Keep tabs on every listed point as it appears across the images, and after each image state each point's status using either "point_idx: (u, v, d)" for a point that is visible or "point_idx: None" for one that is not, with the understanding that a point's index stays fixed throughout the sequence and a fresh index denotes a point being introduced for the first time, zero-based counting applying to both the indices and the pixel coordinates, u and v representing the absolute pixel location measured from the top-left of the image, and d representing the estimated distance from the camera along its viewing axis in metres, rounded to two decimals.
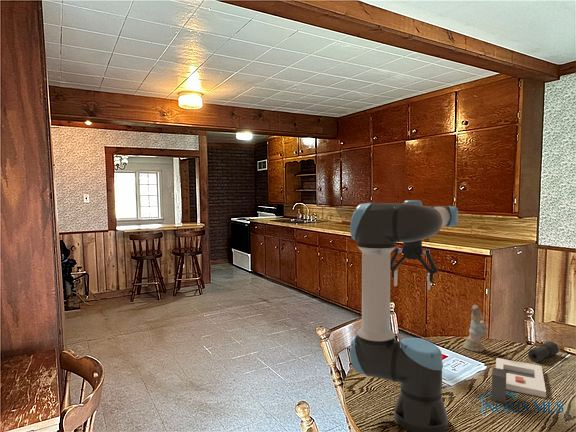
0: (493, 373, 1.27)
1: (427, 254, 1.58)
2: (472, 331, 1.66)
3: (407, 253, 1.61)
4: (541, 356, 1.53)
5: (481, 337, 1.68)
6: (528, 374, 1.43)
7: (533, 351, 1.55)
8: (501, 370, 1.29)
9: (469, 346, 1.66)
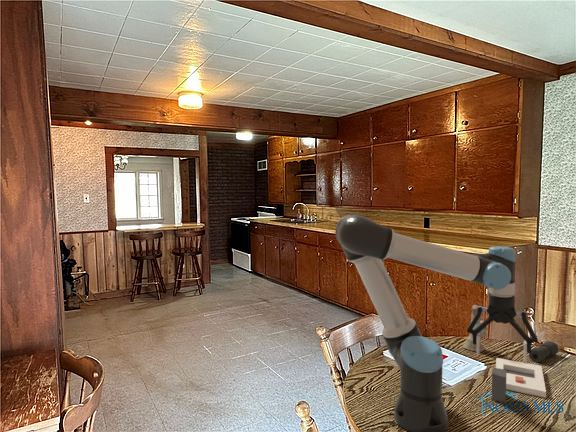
0: (493, 373, 1.27)
1: (523, 318, 1.22)
2: None
3: (495, 315, 1.26)
4: (542, 356, 1.53)
5: (481, 337, 1.68)
6: (528, 374, 1.43)
7: (534, 351, 1.55)
8: (501, 370, 1.29)
9: (469, 346, 1.66)
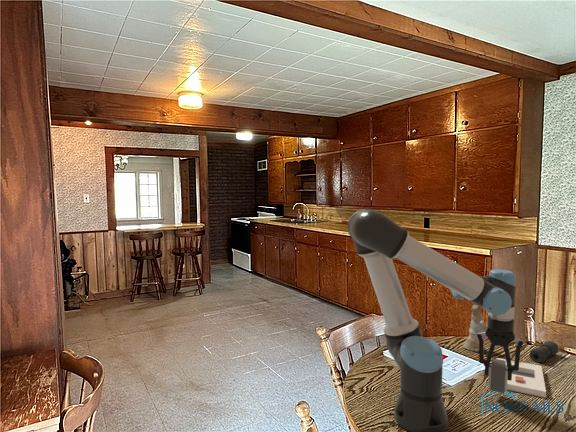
0: (492, 363, 1.27)
1: (519, 346, 1.23)
2: (472, 331, 1.66)
3: (494, 338, 1.26)
4: (543, 356, 1.53)
5: None
6: (528, 374, 1.43)
7: (535, 351, 1.54)
8: (500, 361, 1.29)
9: (469, 346, 1.66)
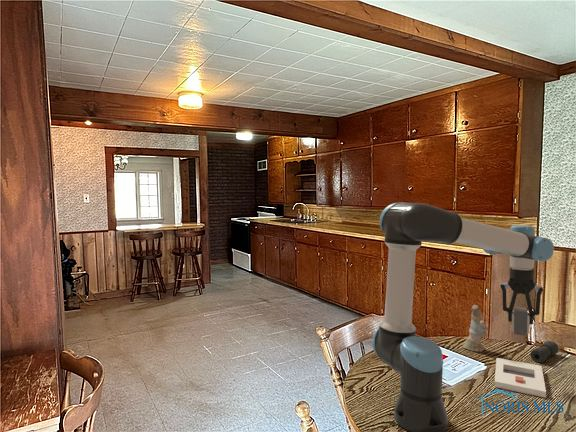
0: (515, 310, 1.40)
1: (539, 292, 1.37)
2: (472, 331, 1.66)
3: (516, 287, 1.39)
4: (544, 356, 1.53)
5: (481, 337, 1.68)
6: (528, 374, 1.43)
7: (535, 351, 1.54)
8: (522, 308, 1.42)
9: (469, 346, 1.66)
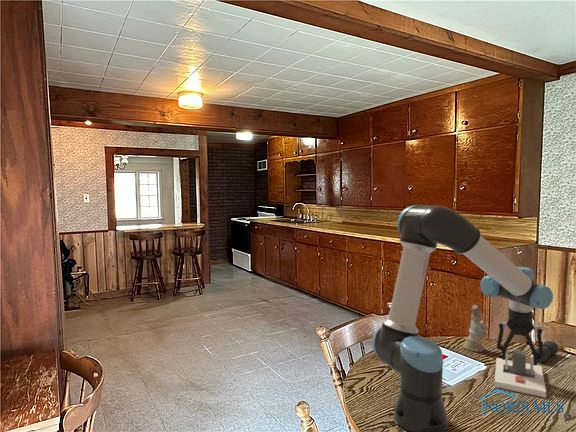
0: (514, 354, 1.41)
1: (539, 333, 1.38)
2: (472, 331, 1.66)
3: (515, 328, 1.41)
4: (545, 356, 1.52)
5: (481, 337, 1.68)
6: (528, 374, 1.43)
7: None
8: (521, 351, 1.43)
9: (469, 346, 1.66)
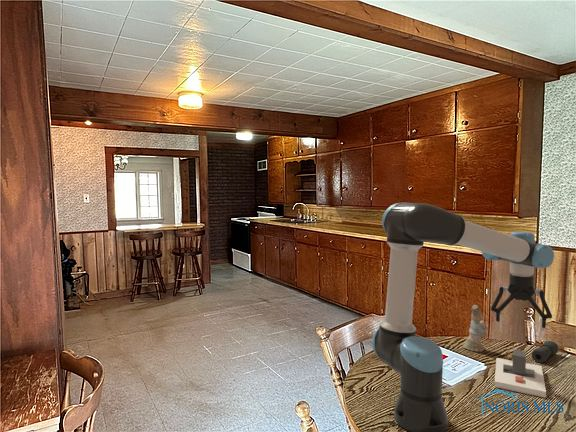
0: (514, 354, 1.41)
1: (541, 296, 1.37)
2: (472, 331, 1.66)
3: (516, 293, 1.40)
4: (545, 357, 1.52)
5: (481, 337, 1.68)
6: (528, 374, 1.43)
7: (537, 352, 1.54)
8: (521, 351, 1.43)
9: (469, 346, 1.66)
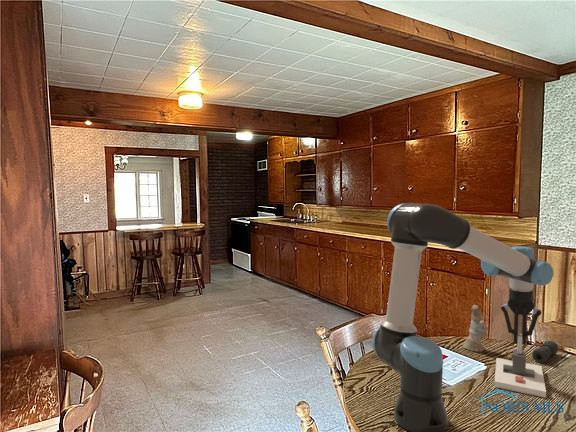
0: (514, 354, 1.41)
1: (536, 315, 1.38)
2: (472, 331, 1.66)
3: (516, 308, 1.40)
4: (546, 357, 1.52)
5: (481, 337, 1.68)
6: (528, 374, 1.43)
7: (538, 352, 1.54)
8: None
9: (469, 346, 1.66)
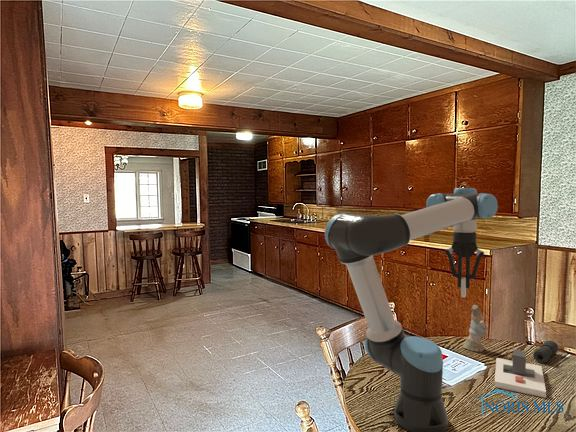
0: (514, 354, 1.41)
1: (479, 256, 1.35)
2: (472, 331, 1.66)
3: (459, 250, 1.37)
4: (547, 357, 1.52)
5: (481, 337, 1.68)
6: (528, 374, 1.43)
7: (539, 352, 1.54)
8: (521, 351, 1.43)
9: (469, 346, 1.66)
